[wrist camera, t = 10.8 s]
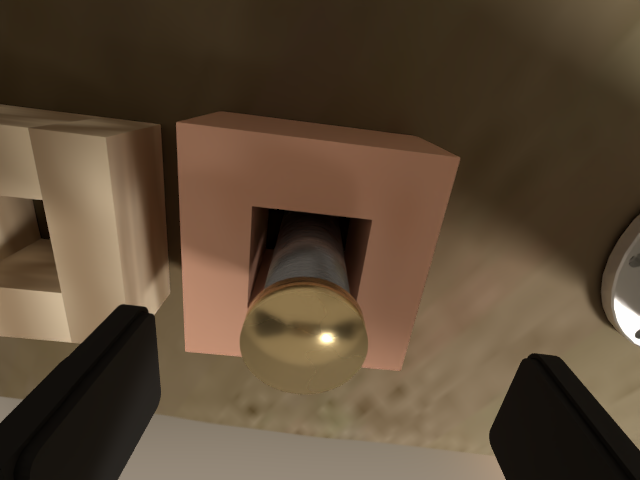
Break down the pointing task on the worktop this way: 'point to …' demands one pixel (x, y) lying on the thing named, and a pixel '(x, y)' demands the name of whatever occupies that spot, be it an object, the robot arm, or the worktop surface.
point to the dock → (313, 197)
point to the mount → (79, 221)
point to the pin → (305, 312)
